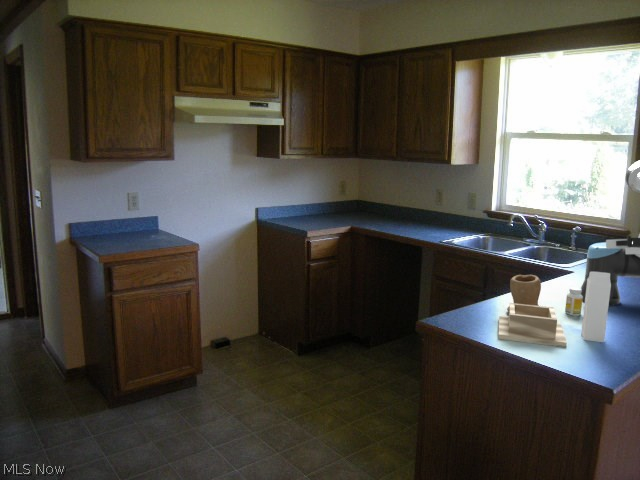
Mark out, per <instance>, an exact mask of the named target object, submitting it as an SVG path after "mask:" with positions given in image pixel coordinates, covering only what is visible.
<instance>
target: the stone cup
mask: <svg viewBox="0 0 640 480" xmlns="http://www.w3.org/2000/svg"><path fill="white" fill-rule="evenodd" d="M509 282H510V283H509V289H510V290H509V291H510V293H511V297H512V303H516V304H526V305H535V306H540V304H539V298H540V295H541V290H542V281H541V279H540V278H539V277H538V276H537V275H535V274H534V275H533V274H526V275H524V274H517V275H515V276H513V277H512V278H510V281H509ZM506 310H507V313H509V306H508V307H507V308H506Z"/></svg>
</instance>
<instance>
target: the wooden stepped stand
mask: <svg viewBox="0 0 640 480" xmlns="http://www.w3.org/2000/svg"><path fill="white" fill-rule="evenodd" d="M508 307H509V312H508V316H505V315H504V316H503V315H499V317H498V338H497V339H498V340H505V341H513V342H522V343H529V344H535V345H536V344H538V345H544V346H545V345H547V346H552V345H553V346H554V347H559V348H560V347H561V348H567V339H566V336H565V332H564V330H563V326H562V323H561V322H558V318H557V315H556V314H557V313H556V311H555V308H554V306H553V307H552V306H546V305H545V306H543V305H542V306H541V305H539V306H535V305H526V304H516V303H514V302H509V306H508Z"/></svg>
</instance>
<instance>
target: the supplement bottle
mask: <svg viewBox="0 0 640 480" xmlns="http://www.w3.org/2000/svg"><path fill="white" fill-rule="evenodd" d="M580 288H581V287H580ZM580 288H579V287H574V286H571V287H569V292H568V293H567V295H566V300H565V308H564V309H565V310H564V312H565V314H567V315H569V316H573V317H574V316H576V317H577V316H580V315H581V314H582V307H583V301H582V300H583V296H582V295H581V291H582V289H580Z"/></svg>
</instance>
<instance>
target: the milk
mask: <svg viewBox="0 0 640 480" xmlns="http://www.w3.org/2000/svg"><path fill="white" fill-rule="evenodd" d="M610 289H611V282H610V273H602V272H590V273H589V277H588V279H587V287H586V296H585V302H584V306H583V314H582V323H581V324H582V325H581V336H582V338H583V341H590V342H598V343H605V337H606V329H607V321H608V315H609V314H608V313H609V312H608V311H609V306H610V305H609V298H610Z"/></svg>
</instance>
